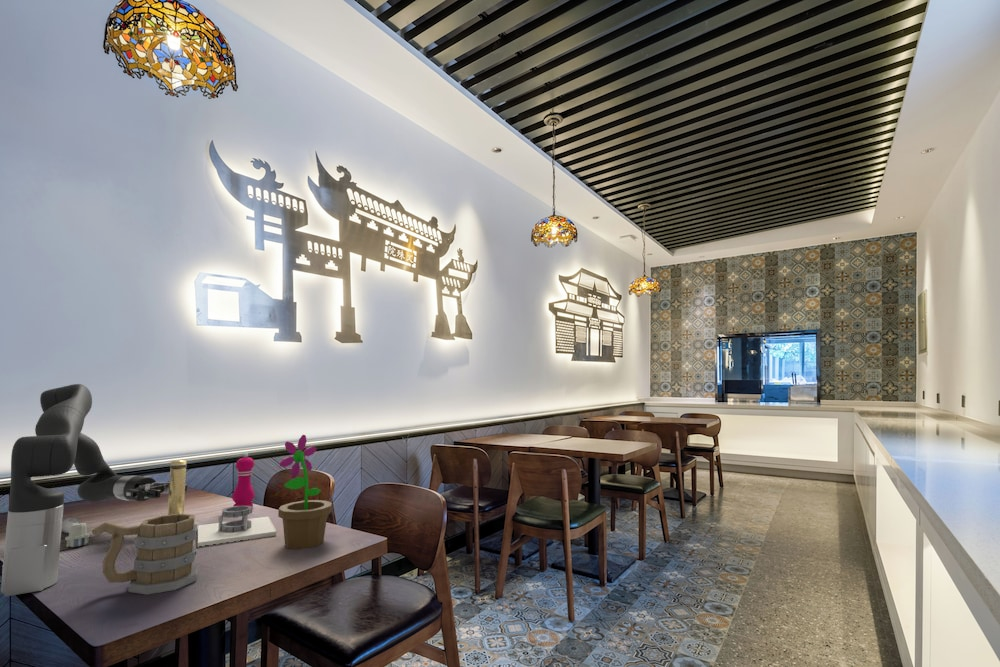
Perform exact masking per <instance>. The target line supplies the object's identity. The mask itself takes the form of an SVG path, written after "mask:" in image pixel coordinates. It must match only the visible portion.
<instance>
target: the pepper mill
mask: <svg viewBox="0 0 1000 667" xmlns="http://www.w3.org/2000/svg"><path fill="white" fill-rule="evenodd" d="M254 466H255V461H254V459H253V458H252V457H249V453H248V452H244V453H243V454H242V457H241V458H239V459H238V460H236V463H235V468H236V470H237V471H236V473H237V474H236V476H237V478H238V479H237V480H238V481H237V485H236V487H235V489H234V491H233V493H232V498H231V499H232V501H233V502H234V504H233V506H252V509H253V508H254V503H253V502H252V501H253V500H254V498H255V496H256V495H255V490H254V488H253V485H252V483H251V482H252V481H251V477H252V475H253V470H252V469H253V468H254Z"/></svg>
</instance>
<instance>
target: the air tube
mask: <svg viewBox="0 0 1000 667" xmlns="http://www.w3.org/2000/svg"><path fill="white" fill-rule="evenodd" d="M187 461H188V460H186V459H176V460H175V459H174V460H171V461H170V465H169V469H170V472H169V481H170V485H169V494H168V500H167V502H168V504H167V506H168V507H167V515H172V514H185V513H184V511H185V494H186V492H185V484H186V480H187V479H186V476H187V467H188V463H187Z"/></svg>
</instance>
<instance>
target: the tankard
mask: <svg viewBox="0 0 1000 667" xmlns="http://www.w3.org/2000/svg"><path fill="white" fill-rule="evenodd" d="M195 517H196V516H195V514H190V513H184V514H172V515H168V514H165V515H158V516H155V517H151V518H148V519H143V520H142V521H141V523H140V524H139V525H133V526H121V525H119V524H118V525H117V524H115V523H111V522H108V521H105V522H103V523H101V524H99V525H98V526H95V527H94V528H93V529H91V533H92V534H93V535H94V536H95V537H98V536H100V535H101V534H103V533H107V534H109V535H111V540H110V545H109V547H108V550H107V553H106V555H105V556H104V558H103V561H102V572H101V573H103V576H104V577H105V579H106V581H107V582H108V583H110V584H113V583H117V584H118V583H119V584H120V583H121V584H122V583H127V582H129V584H128V588H127V590H128V593H133V594H138V595H145V596H149V595H154V594H155V595H156V594H160V593H161V594H162V593H167V592H173V591H176V590H178V589H181V588H183V587H185V586H189V585H190V584H193V583H194V582H196V581H197V578H198V573H199V566H197V565H193V563H194V562H195V559H196V555H197V550H196V549H197V546H196V545H194V541H195V540H196V538H197V535H198V524H195ZM134 535H136V536H135V546H134V548H136V549H137V551H138V552H137V555H136V557H135V558H134V560H133V569H130V570H127V571H118V570H117V568H116V560H117V558H118V556H119V554H120V552H121V550H122V548H123V545H124V539H125V536H134Z"/></svg>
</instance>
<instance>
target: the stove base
mask: <svg viewBox="0 0 1000 667" xmlns="http://www.w3.org/2000/svg"><path fill="white" fill-rule="evenodd" d="M252 513H253V508H252V506H234V505H233V506H229V507H225V508H224V509H221V515H218V522H216V523H214V522H213V523H209V524H208V523H206V524H201V525H200V524H198V525H197V531H198V533H197V548H200V547H199V546H202V547H206V546H205V545H209V546H214V545H213V544H216V545H220V544H219V543H223V544H227V543H226V542H229V543H234V541H236V542H241V541H240V540H243V541H247V540H248V539H249V540H255V539H262V538H269V537H274V536H277V530H276V528H275V526H274V524H273V522H272V520H271V519H270V516H260V517H255V518H248V516H249V515H250V514H252ZM238 517H241V519H235V520H229V521H223V520H224V519H223V518H238ZM249 540H248V541H249Z"/></svg>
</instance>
